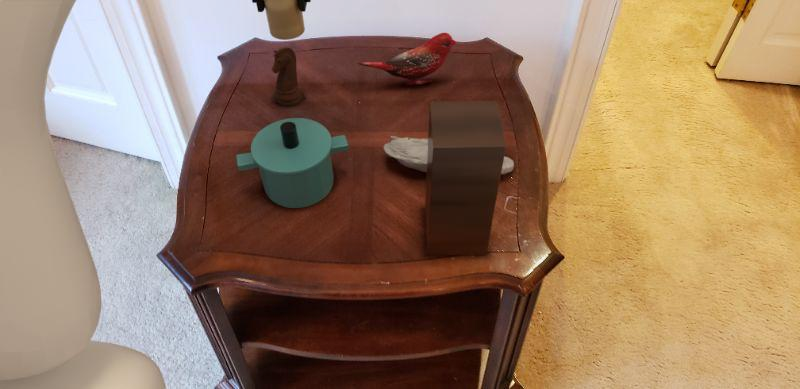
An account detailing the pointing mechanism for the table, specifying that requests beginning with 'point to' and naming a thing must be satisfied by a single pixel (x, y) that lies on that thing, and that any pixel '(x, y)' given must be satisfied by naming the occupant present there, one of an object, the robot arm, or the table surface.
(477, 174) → the pedestal
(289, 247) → the table surface
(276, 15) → the cylinder
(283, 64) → the chess piece
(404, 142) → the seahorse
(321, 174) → the pot
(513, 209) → the table surface
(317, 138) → the pot lid
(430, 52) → the decorative bird figurine
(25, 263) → the robot arm
